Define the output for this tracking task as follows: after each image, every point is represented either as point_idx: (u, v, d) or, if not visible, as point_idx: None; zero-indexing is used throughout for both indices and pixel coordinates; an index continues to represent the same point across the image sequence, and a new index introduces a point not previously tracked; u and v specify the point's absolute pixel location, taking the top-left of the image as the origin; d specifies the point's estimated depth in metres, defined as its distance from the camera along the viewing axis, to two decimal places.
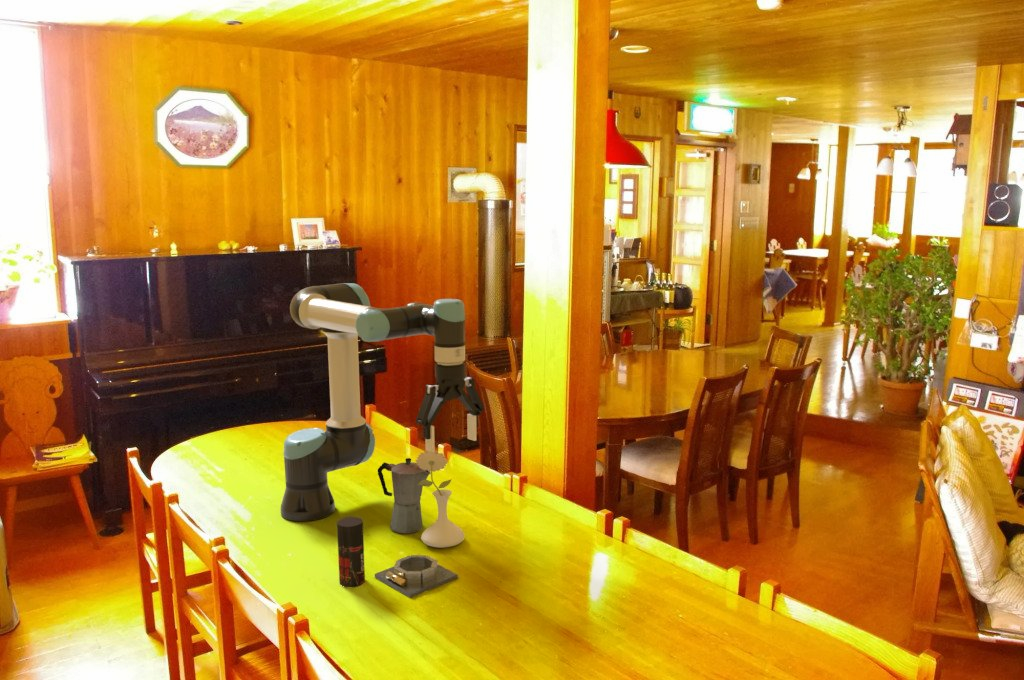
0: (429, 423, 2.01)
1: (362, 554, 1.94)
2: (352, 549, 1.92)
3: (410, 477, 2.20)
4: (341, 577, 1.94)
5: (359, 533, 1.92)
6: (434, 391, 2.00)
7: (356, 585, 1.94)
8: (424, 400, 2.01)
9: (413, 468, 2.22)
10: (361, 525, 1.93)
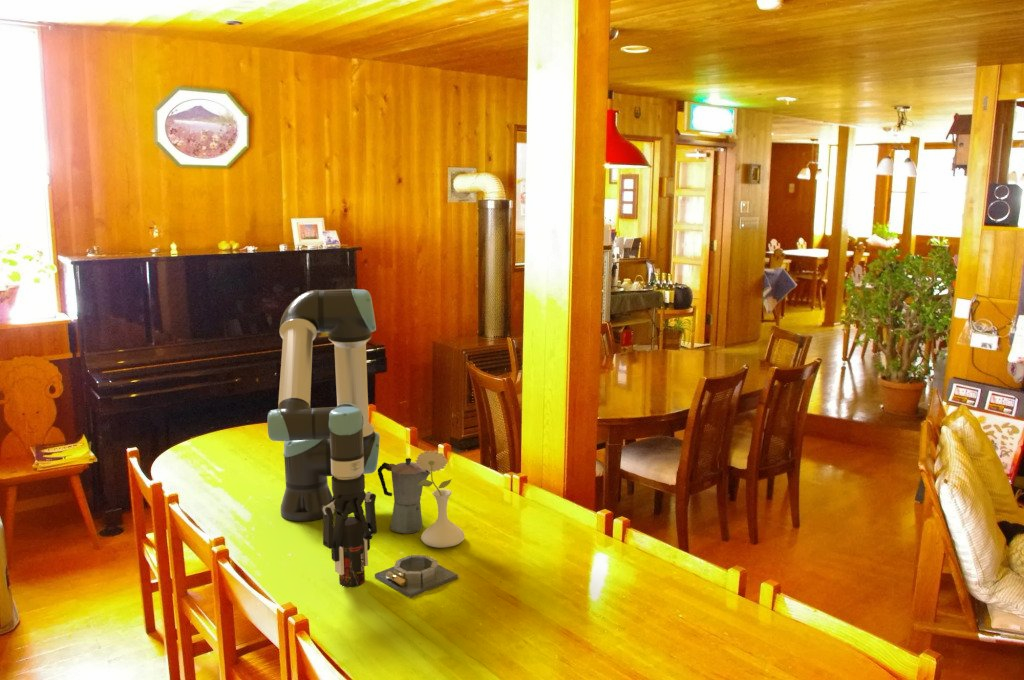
0: (337, 545, 1.90)
1: (362, 554, 1.94)
2: (352, 549, 1.92)
3: (410, 477, 2.20)
4: (341, 577, 1.94)
5: (359, 533, 1.92)
6: (330, 512, 1.88)
7: (356, 585, 1.94)
8: (324, 522, 1.89)
9: (413, 468, 2.22)
10: (361, 525, 1.93)
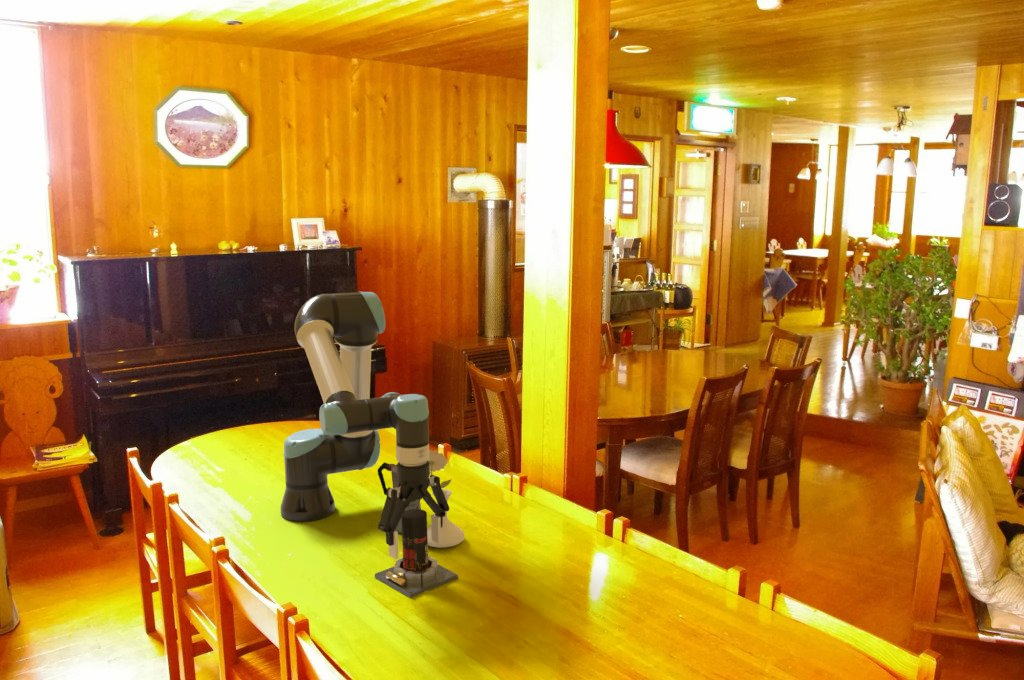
0: (392, 529, 1.89)
1: (426, 546, 1.96)
2: (417, 540, 1.93)
3: None
4: (406, 569, 1.95)
5: (424, 524, 1.94)
6: (395, 495, 1.89)
7: None
8: (386, 504, 1.90)
9: None
10: (425, 517, 1.95)
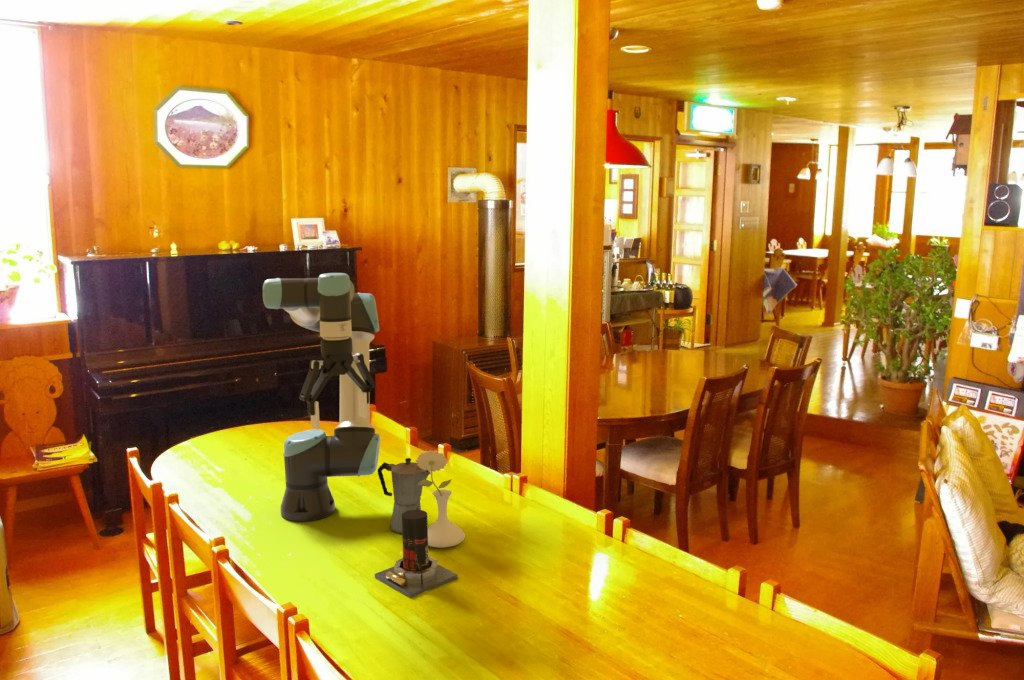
0: (313, 399, 1.97)
1: (426, 546, 1.96)
2: (417, 541, 1.93)
3: (410, 477, 2.20)
4: (406, 569, 1.95)
5: (424, 526, 1.94)
6: (318, 366, 1.97)
7: None
8: (308, 375, 1.98)
9: (413, 468, 2.22)
10: (426, 518, 1.94)
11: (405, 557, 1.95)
